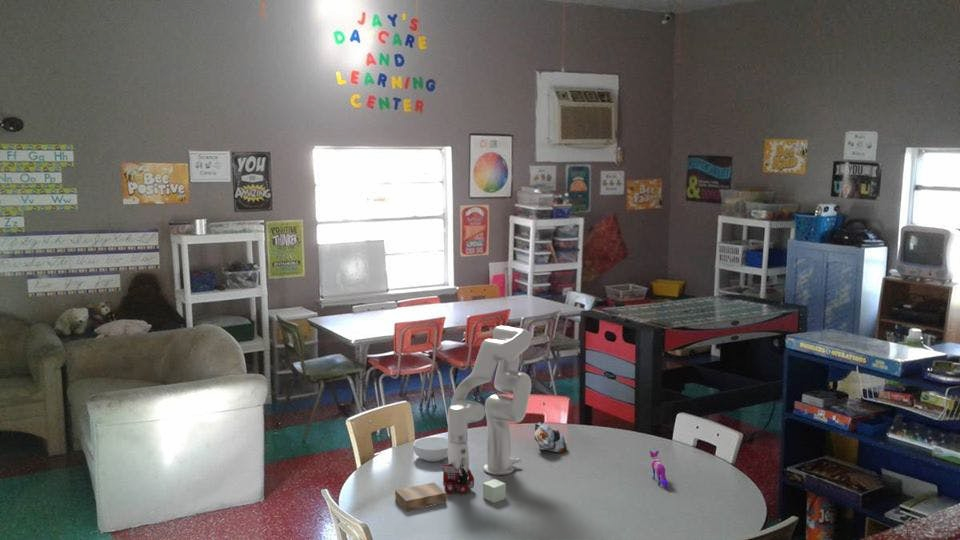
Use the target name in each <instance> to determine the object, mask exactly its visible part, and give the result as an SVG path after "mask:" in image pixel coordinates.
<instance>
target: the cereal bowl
mask: <svg viewBox="0 0 960 540" xmlns="http://www.w3.org/2000/svg"><path fill="white" fill-rule="evenodd" d="M448 443H449V442H448V438H446V437H439V436H430V437H429V436H428V437H424V438H420V439H417V440H415V441H414V442H413V445H412V446H413V452H414V454H415V455H416V457H418V458H419V459H422V460H424V461H425V460H426V461H425V462H428V461H430V462H429V463H436V461H437V462H440V461H442V460H444V459H446V458H448V457H447V452H448Z"/></svg>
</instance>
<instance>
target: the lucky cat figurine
mask: <svg viewBox="0 0 960 540" xmlns="http://www.w3.org/2000/svg"><path fill="white" fill-rule="evenodd" d="M534 425H535V426H534V429H535V431H534V440H535V442H536V443H537V444H538V449H539V450H542V451H543V450H546V451H549V452H554V453H559V454H561V453H565V451H566V450H568V445H567V443H566V441H565V438H564V435H563V434H562V433H561V432H560V431H559V429H558V428H557V429H553V428H551V426H550V425H549V424H543V422H537V423H535V424H534Z"/></svg>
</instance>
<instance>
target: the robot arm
mask: <svg viewBox="0 0 960 540" xmlns="http://www.w3.org/2000/svg"><path fill="white" fill-rule="evenodd" d="M531 344H532V334H531V332H530V331H529V330H527V329H525V328H521V327H515V326H510V325H497V326H495V327H494V328H493V330H492V338H487V339H484V340H483V341H482V342H481V344H480V347H479V349H478V353H477V356H476V359H475V362H474V364H473V368H472V371H471V372H470V374H469V375H468V376H466V377H465V378H464V379H463V380H461V382H460V383H459V384H458V386H457V387H456V388H455V390H454V393H453V395H452V399H451V402H450V406H449V407H448V410H447V439H448V442H449V443H448V452H447V457H446V458H447V464H451V465H453V466H454V467H455V468H457V469H459V472H460V475H459V485H466V484H467V475H468V469H470V456H469V454H470V453H469V445H468V424H470V423H477V422H479V421H482V420H483V418H484V417H486V427H487V428H486V431H487V432H486V434H487V435H486V436H487V437H486V442H487V443H486V444H487V446H486V448H487V450H486V451H487V452H486V454H487V456H486V457H487V458H486V460H487V461H486V463H485V464H483V471H484V472H485V473H487V474H489V475H492V476H493V475H494V476H505V475H510V474H511V473H513V472H514V470H515V467H514V465H515V464H519V463H521V461H522V460H521V458H520V457H517V458H515V457H514V456H512V457H511V426H510V422H511V423H515V424H518V423H520V422H522V421H523V420H524V419H525V416H526V414H527V409H528V406H529V401H530V397H531V396H530V395H531V391H532V379H531V377H530V375H529V374H527V373H525V372H522V371H519V365H520V356H521V354H522V353H524V352H525V351H527V349H528V348H529V347H530V345H531ZM494 374H495V376H494ZM493 378H494V381H493V382H494V383H493V385H494V389H495V390H497V391H498V392H501V393H506V394H510V395H513V397H511V396H510V397H509V396H506V395H502V394H492V395H490V396H488V397H487V398H486V400H485V402H484V405H483V404H482V403H480V402H477V401H473V400H469V399H467V396H468V394H469V393H470V392H471V390H473V389H474V388H475V387H478V386H480V385H484V384H486V383H490V382H491V381H492V380H493ZM460 466H461V467H460ZM462 466H464V467H462ZM461 469H464V470H463V471H462V470H461Z"/></svg>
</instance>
